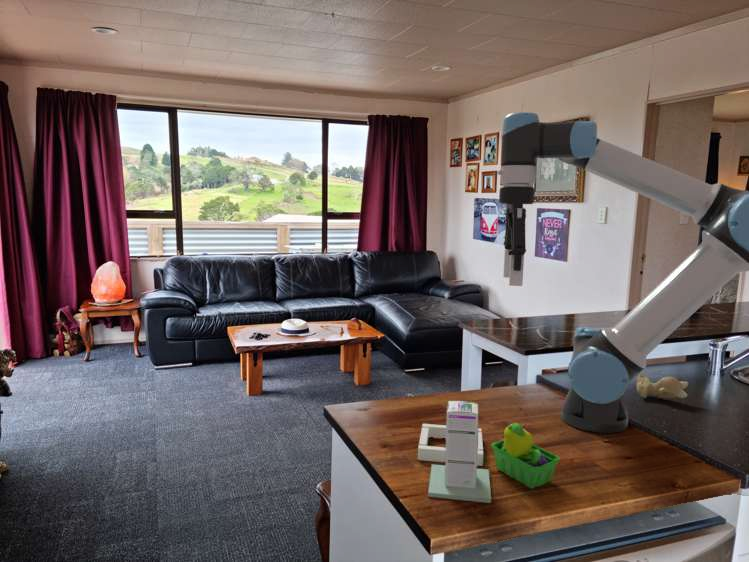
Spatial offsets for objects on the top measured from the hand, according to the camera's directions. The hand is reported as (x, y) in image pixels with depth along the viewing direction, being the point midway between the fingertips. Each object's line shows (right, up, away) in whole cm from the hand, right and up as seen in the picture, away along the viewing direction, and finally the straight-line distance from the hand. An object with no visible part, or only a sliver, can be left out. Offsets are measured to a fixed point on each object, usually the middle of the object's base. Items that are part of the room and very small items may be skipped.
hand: (512, 281), depth 127 cm
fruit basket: (-3, -38, -19) cm, 42 cm away
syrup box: (-15, -37, -23) cm, 46 cm away
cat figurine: (+46, -33, +26) cm, 62 cm away
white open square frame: (-15, -36, -7) cm, 39 cm away
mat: (-15, -38, -22) cm, 47 cm away
